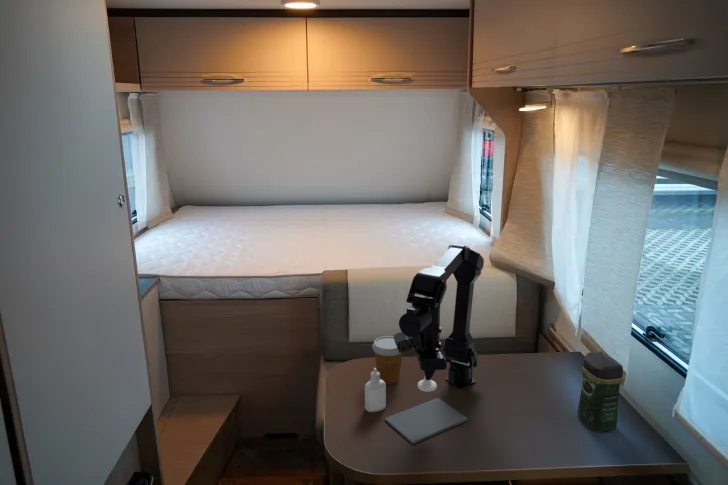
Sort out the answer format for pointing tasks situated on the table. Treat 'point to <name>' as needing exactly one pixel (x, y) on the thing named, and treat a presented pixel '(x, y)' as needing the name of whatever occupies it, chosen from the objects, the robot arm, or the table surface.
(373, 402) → the eye dropper bottle
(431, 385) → the chess piece
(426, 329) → the robot arm
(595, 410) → the coffee jar
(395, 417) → the slate mat
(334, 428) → the table surface
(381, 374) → the disposable coffee cup
